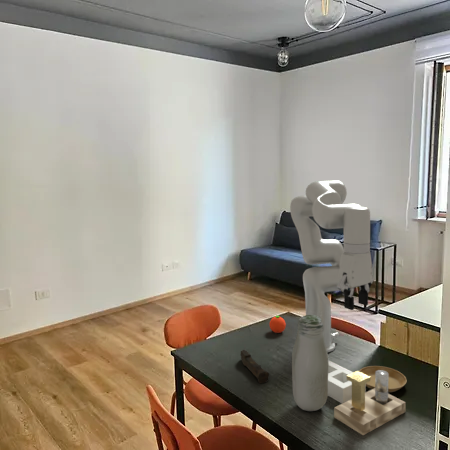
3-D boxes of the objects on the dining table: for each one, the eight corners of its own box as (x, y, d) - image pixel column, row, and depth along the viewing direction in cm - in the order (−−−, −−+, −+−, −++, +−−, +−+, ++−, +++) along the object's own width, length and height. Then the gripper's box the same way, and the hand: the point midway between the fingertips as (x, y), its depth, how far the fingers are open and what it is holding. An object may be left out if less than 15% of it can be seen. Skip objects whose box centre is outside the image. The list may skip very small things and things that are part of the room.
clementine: (269, 328, 186) (269, 312, 185) (285, 328, 186) (285, 312, 185) (269, 335, 178) (269, 319, 177) (286, 335, 178) (286, 319, 177)
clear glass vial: (380, 404, 126) (380, 368, 124) (390, 409, 123) (391, 373, 121) (372, 408, 124) (372, 372, 122) (382, 413, 121) (383, 377, 119)
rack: (327, 373, 145) (327, 359, 144) (365, 393, 132) (365, 378, 131) (305, 382, 140) (305, 367, 139) (343, 404, 126) (343, 388, 126)
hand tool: (269, 382, 141) (269, 369, 140) (258, 384, 140) (258, 371, 139) (248, 358, 159) (248, 346, 158) (238, 360, 158) (238, 348, 157)
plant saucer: (409, 379, 140) (409, 371, 139) (402, 401, 127) (402, 393, 127) (363, 369, 147) (363, 362, 147) (352, 389, 135) (352, 381, 134)
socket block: (375, 396, 130) (375, 387, 129) (405, 412, 121) (405, 402, 121) (334, 417, 120) (334, 407, 120) (363, 435, 112) (363, 424, 111)
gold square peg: (357, 401, 120) (357, 370, 119) (370, 408, 117) (370, 376, 116) (346, 406, 118) (346, 375, 117) (359, 413, 114) (359, 381, 113)
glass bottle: (306, 421, 119) (305, 325, 115) (286, 403, 128) (285, 313, 124) (335, 412, 123) (335, 318, 119) (314, 395, 132) (313, 308, 128)
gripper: (365, 242, 135) (364, 298, 137) (326, 250, 126) (326, 309, 128) (385, 246, 129) (384, 303, 131) (346, 254, 119) (346, 316, 122)
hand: (356, 306), depth 130 cm, fingers open, 5 cm apart
